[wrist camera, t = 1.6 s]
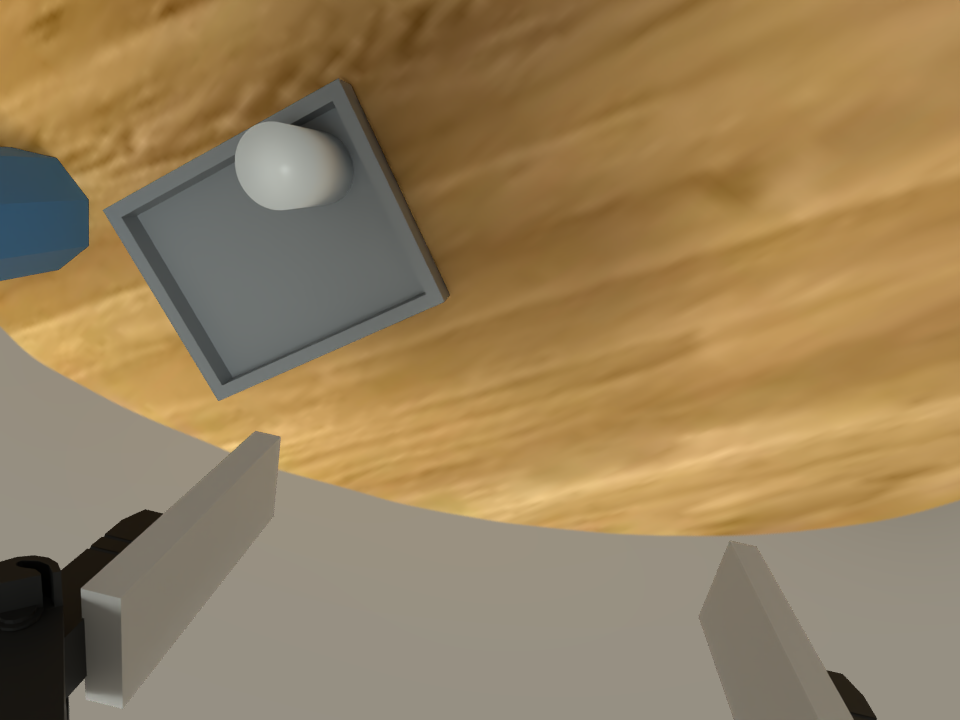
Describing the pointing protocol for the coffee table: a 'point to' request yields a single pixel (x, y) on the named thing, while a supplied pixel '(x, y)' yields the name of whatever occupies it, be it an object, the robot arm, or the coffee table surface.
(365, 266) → the tray
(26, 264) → the water bottle
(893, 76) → the coffee table surface
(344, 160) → the white rounded column
